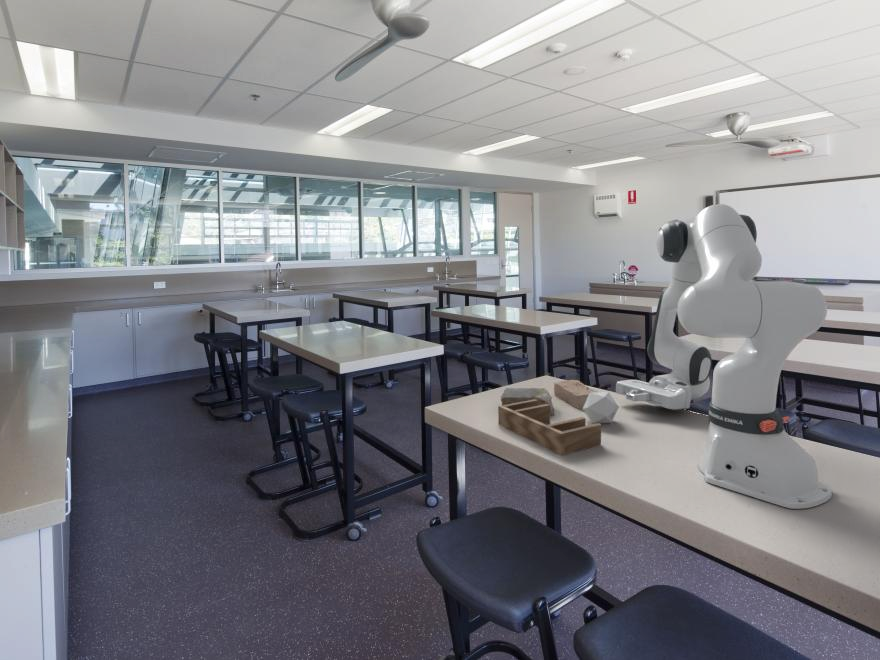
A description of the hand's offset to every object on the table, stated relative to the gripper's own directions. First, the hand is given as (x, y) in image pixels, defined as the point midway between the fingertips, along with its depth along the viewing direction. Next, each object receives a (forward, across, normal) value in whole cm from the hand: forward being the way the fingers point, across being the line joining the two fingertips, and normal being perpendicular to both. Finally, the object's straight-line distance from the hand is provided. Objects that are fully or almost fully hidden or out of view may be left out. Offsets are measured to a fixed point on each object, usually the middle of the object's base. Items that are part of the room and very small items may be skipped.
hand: (629, 397), depth 143 cm
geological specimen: (+20, -20, +5) cm, 29 cm away
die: (+11, 0, +5) cm, 12 cm away
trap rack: (+29, 0, +5) cm, 29 cm away
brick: (+2, -18, +5) cm, 19 cm away
